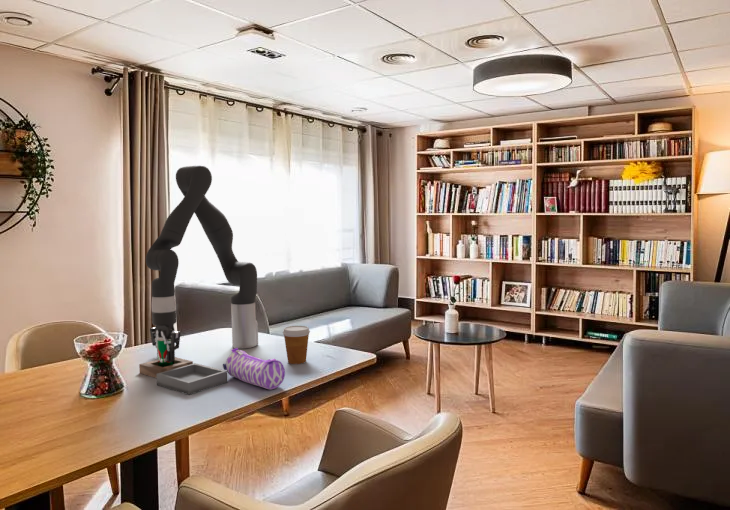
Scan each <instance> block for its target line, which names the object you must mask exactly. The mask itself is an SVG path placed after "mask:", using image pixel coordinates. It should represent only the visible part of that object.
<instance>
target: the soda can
mask: <svg viewBox="0 0 730 510" xmlns="http://www.w3.org/2000/svg"><path fill="white" fill-rule="evenodd" d="M167 341H171V339H169V340H167ZM169 345H170V346H171V343H169ZM157 350H158V357H157V360H158V366H160V367H166V366H170V365H173V364H174V361H173V362H168V359H167V351H168V350H167V347H166V345H165V344H164V340H163V337H161V336H160V337H158V339H157V348H156V351H157Z"/></svg>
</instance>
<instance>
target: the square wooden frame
mask: <svg viewBox="0 0 730 510" xmlns="http://www.w3.org/2000/svg"><path fill="white" fill-rule="evenodd" d="M190 364H194V361H192V360H189V359H188V360H187V359H185V358H181V357H178V356H177V357H176V356H175V360H174V364H173V365H170V366H166V367H160V366H158V359H155V360H151V361H146V362H143V363H140V364H139V365H138V366H139V374H141V375H145V376H148V377H152V378H154V379H157V375H156V374H158V373H161V372H165V371H168V370H172V369H176V368H179V367H183V366H187V365H190Z"/></svg>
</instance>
